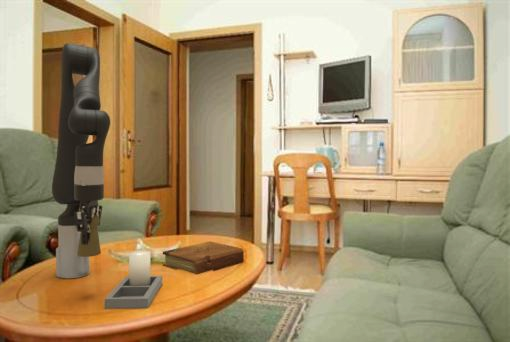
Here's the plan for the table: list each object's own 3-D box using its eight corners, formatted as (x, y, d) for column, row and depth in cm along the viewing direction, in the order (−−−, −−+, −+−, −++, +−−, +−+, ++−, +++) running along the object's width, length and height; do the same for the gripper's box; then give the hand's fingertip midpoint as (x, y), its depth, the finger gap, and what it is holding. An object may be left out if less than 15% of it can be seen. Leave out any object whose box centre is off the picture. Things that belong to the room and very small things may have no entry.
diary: (196, 278, 130) (196, 260, 130) (162, 267, 143) (162, 251, 142) (243, 263, 147) (243, 248, 147) (210, 254, 160) (210, 240, 160)
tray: (104, 310, 101) (104, 299, 101) (126, 286, 120) (125, 276, 120) (147, 310, 102) (147, 298, 102) (162, 285, 121) (162, 275, 121)
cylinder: (126, 293, 112) (126, 255, 112) (132, 286, 118) (132, 250, 118) (148, 293, 113) (147, 255, 112) (152, 286, 119) (152, 249, 118)
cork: (85, 258, 105) (85, 217, 105) (72, 254, 109) (72, 214, 108) (105, 253, 110) (105, 214, 110) (92, 250, 114) (92, 212, 113)
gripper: (86, 180, 115) (85, 238, 116) (63, 184, 101) (63, 250, 102) (111, 180, 115) (111, 239, 116) (92, 185, 101) (92, 251, 102)
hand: (88, 244), depth 109 cm, fingers closed on cork, 3 cm apart
